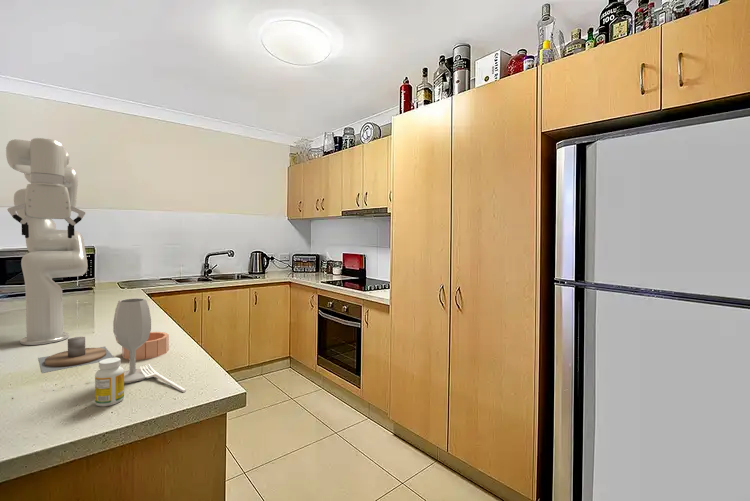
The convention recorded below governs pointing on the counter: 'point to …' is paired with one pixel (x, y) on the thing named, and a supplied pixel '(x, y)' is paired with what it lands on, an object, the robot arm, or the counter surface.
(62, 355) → the lid
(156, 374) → the fork
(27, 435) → the counter surface
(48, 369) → the mat
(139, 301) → the wineglass
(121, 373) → the supplement bottle
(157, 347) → the bowl
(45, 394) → the counter surface
